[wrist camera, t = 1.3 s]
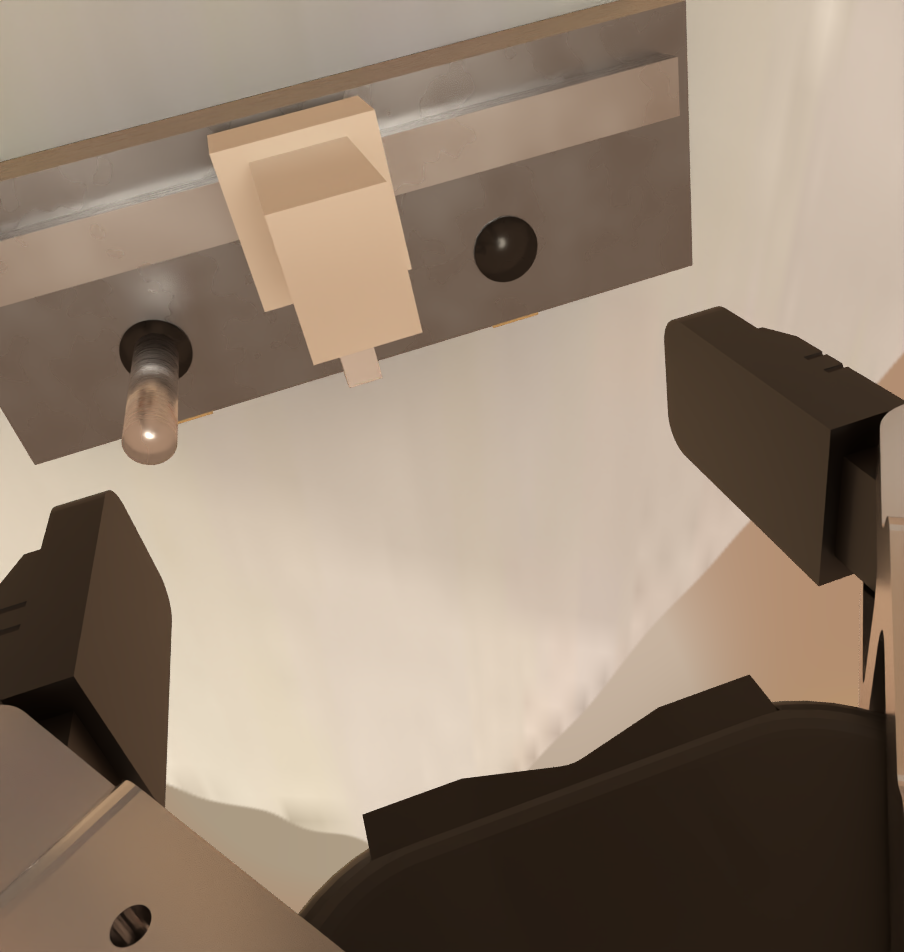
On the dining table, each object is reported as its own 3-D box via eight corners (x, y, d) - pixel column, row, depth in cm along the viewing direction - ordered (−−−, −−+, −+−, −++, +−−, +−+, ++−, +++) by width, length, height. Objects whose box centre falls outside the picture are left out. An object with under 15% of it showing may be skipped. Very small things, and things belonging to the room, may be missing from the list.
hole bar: (-83, 183, 29) (-201, 284, 20) (635, -5, 33) (806, 11, 24) (51, 421, 35) (5, 580, 26) (649, 242, 38) (790, 330, 29)
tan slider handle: (206, 129, 27) (215, 206, 19) (352, 91, 27) (422, 148, 19) (285, 357, 32) (320, 497, 24) (408, 321, 32) (483, 444, 24)
